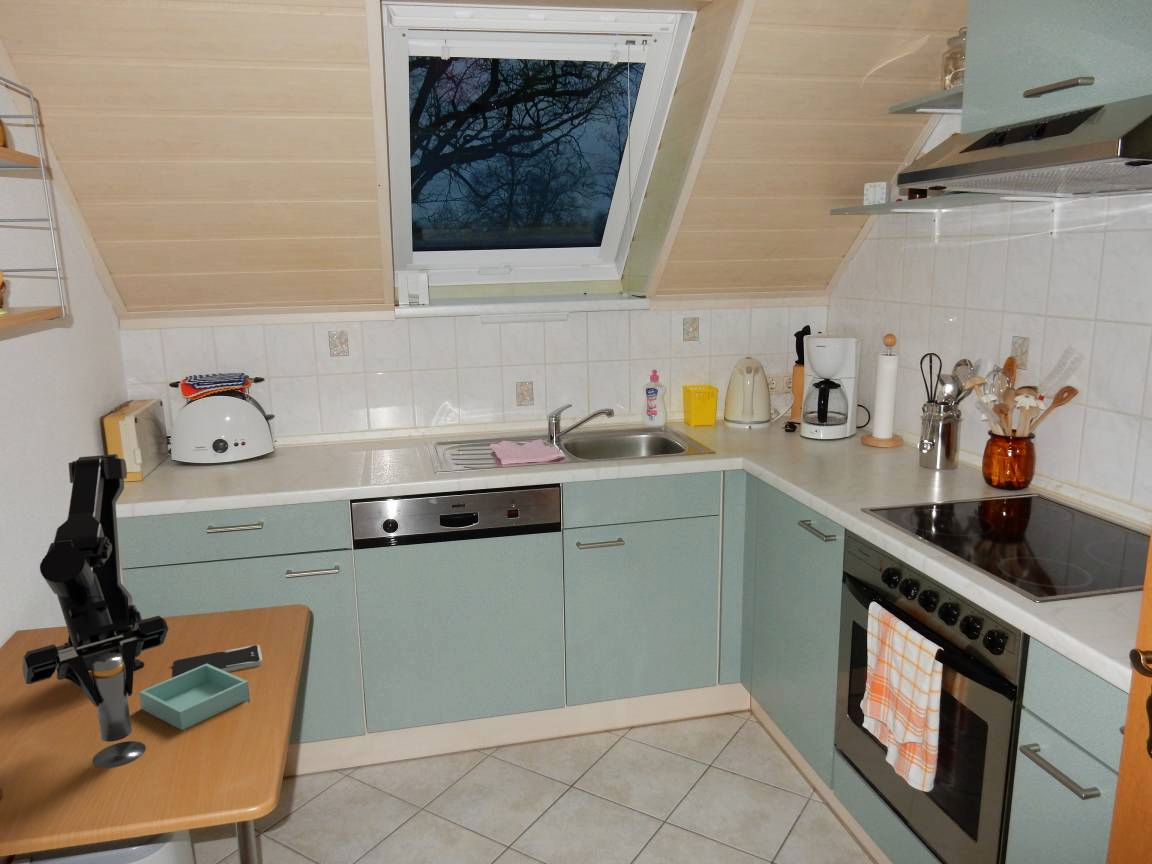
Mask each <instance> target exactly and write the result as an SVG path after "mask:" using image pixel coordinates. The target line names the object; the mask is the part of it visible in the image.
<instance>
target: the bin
mask: <svg viewBox="0 0 1152 864" xmlns="http://www.w3.org/2000/svg"><path fill="white" fill-rule="evenodd" d="M138 692H139V693H138V694H139V701H140V706H141V707H140V708H141V710H143V711H144V712H147V713H149V714H150V715H152V716H154V717H156V718H158V719H160V720H161V721H164V722H166V723H168V724H170V725H171V726H173V727H175V728H177V729H180V731H184V730H186V729H188V728H190V727H192V726H195V725H197V724H199V723H200V722H203V721H205V720H206V719H208V718H211V717H213V716H215V715H217V714H220V713H222V712H224V711H226V710H228V709H230V708H233V707H234V706H237V705H238V704H240V703H243V702H246V703H250V702H251V697H250V696H251V695H250V694H251V693H250V687H249V680H247V679H243V678H241V677H240V676H237V675H234V674H232V673H230V672H225V671H223V670H221V669H218V668H216V667H214V666H212V665H209V664H204V665H202V666H200V667H197V668H195V669H192V670H190V671H188V672H185V673H183V674H180V675H178V676H176V677H173V676H172V677H171V678H169V679H167V680H164V681H162V682H159V683H157V684H154V685H153V686H149V687H148V688H145V689H143V690H140V691H138Z"/></svg>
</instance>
